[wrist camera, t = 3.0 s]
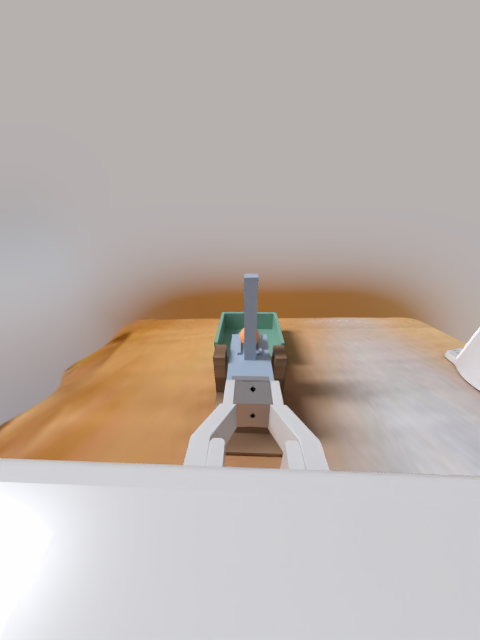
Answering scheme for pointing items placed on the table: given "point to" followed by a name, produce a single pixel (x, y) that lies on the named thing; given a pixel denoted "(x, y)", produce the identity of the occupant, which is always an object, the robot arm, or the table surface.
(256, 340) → the ball
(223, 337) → the tray
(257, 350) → the lever
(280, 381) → the stand
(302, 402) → the table surface
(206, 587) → the robot arm
